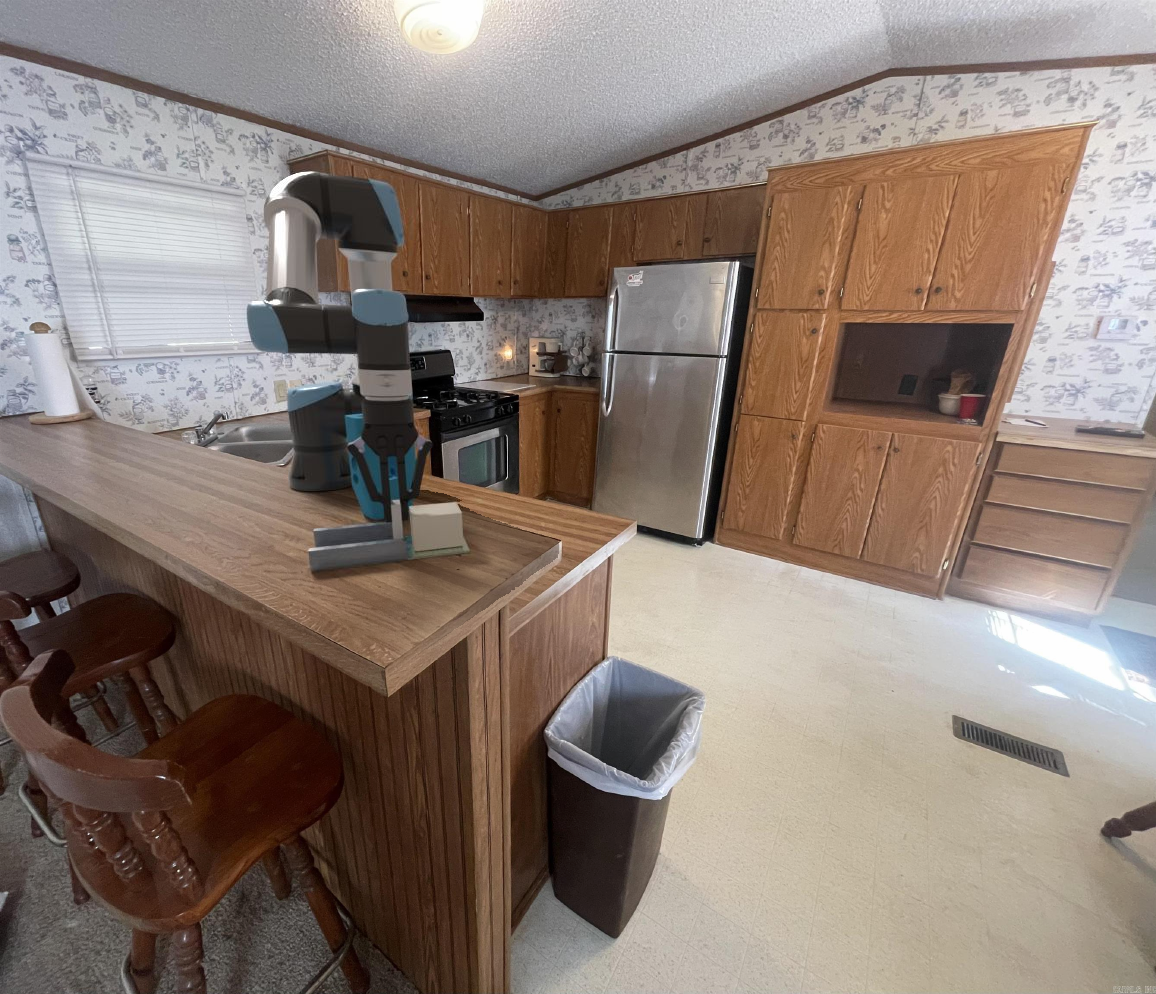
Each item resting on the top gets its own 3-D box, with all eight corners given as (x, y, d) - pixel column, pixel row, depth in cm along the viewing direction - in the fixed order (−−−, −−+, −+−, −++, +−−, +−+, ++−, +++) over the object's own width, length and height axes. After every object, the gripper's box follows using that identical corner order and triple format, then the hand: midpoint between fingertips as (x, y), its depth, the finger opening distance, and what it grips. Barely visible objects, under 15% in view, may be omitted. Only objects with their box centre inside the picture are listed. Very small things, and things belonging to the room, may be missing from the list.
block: (366, 522, 97) (356, 418, 91) (353, 516, 100) (342, 415, 94) (420, 508, 106) (414, 412, 100) (407, 503, 109) (400, 409, 103)
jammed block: (411, 538, 89) (409, 506, 87) (457, 533, 92) (456, 502, 90) (414, 551, 84) (412, 517, 82) (463, 545, 87) (461, 512, 85)
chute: (316, 547, 86) (313, 528, 85) (460, 532, 94) (459, 514, 93) (311, 571, 77) (308, 551, 76) (469, 552, 86) (469, 533, 85)
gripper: (339, 400, 73) (355, 552, 80) (433, 399, 77) (440, 542, 84) (342, 394, 79) (356, 535, 86) (428, 394, 84) (435, 527, 91)
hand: (398, 538), depth 85 cm, fingers closed
